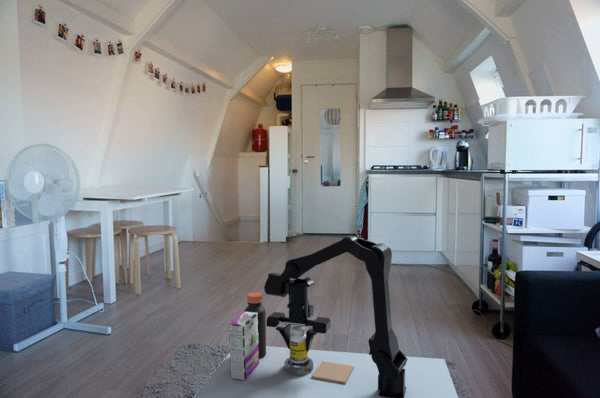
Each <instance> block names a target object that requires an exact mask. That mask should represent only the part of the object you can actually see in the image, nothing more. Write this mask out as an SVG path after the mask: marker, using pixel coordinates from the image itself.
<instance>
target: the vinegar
mask: <svg viewBox="0 0 600 398" xmlns="http://www.w3.org/2000/svg"><path fill="white" fill-rule="evenodd" d="M246 301H247V303H246V304H247V306H246V307H245V308H244V312H256V313H258V340H259V360H260V359H263V358H264V357H265V356H266V354H267V329H266V328H267V327H266V326H267V321H266V320H267V318H266V315H267V314H266V308H265V307H264V306H263V305H262V304H263V293H262V292H256V291H255V292H249V293H247V295H246Z"/></svg>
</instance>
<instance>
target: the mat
mask: <svg viewBox="0 0 600 398" xmlns="http://www.w3.org/2000/svg"><path fill="white" fill-rule="evenodd" d="M354 369H355V366H353V365H350V364H343V363H337V362H330V361H323V360H322V361H321V362H320V364H319V365H318V366H317V368H316V369H315V370H314V371H313V373H312V375H311V379H315V380H322V381H327V382H333V383H338V384H344V385H346V384H347V382H348V380H349V378H350V376H351V374H352V372H353V371H354Z"/></svg>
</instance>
